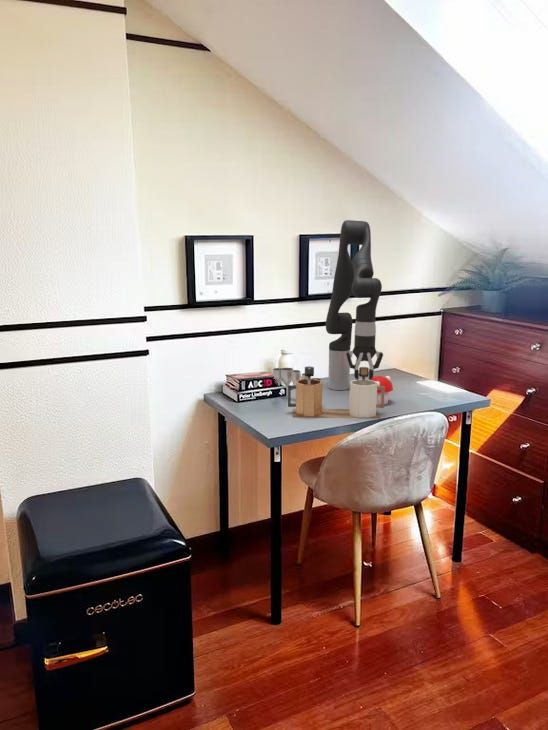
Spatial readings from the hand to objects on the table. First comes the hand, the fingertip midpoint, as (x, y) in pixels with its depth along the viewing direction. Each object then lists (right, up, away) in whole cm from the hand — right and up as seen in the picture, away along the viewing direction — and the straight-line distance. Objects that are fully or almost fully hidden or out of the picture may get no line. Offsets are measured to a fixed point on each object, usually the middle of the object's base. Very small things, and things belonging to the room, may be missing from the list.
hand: (363, 379), depth 227 cm
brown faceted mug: (-22, -13, +4) cm, 25 cm away
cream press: (+2, -13, +3) cm, 13 cm away
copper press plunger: (-20, -12, +3) cm, 23 cm away
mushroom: (+9, -11, +18) cm, 23 cm away
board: (-10, -14, +3) cm, 18 cm away
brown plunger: (0, -12, +3) cm, 12 cm away
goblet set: (-24, -10, +21) cm, 34 cm away
